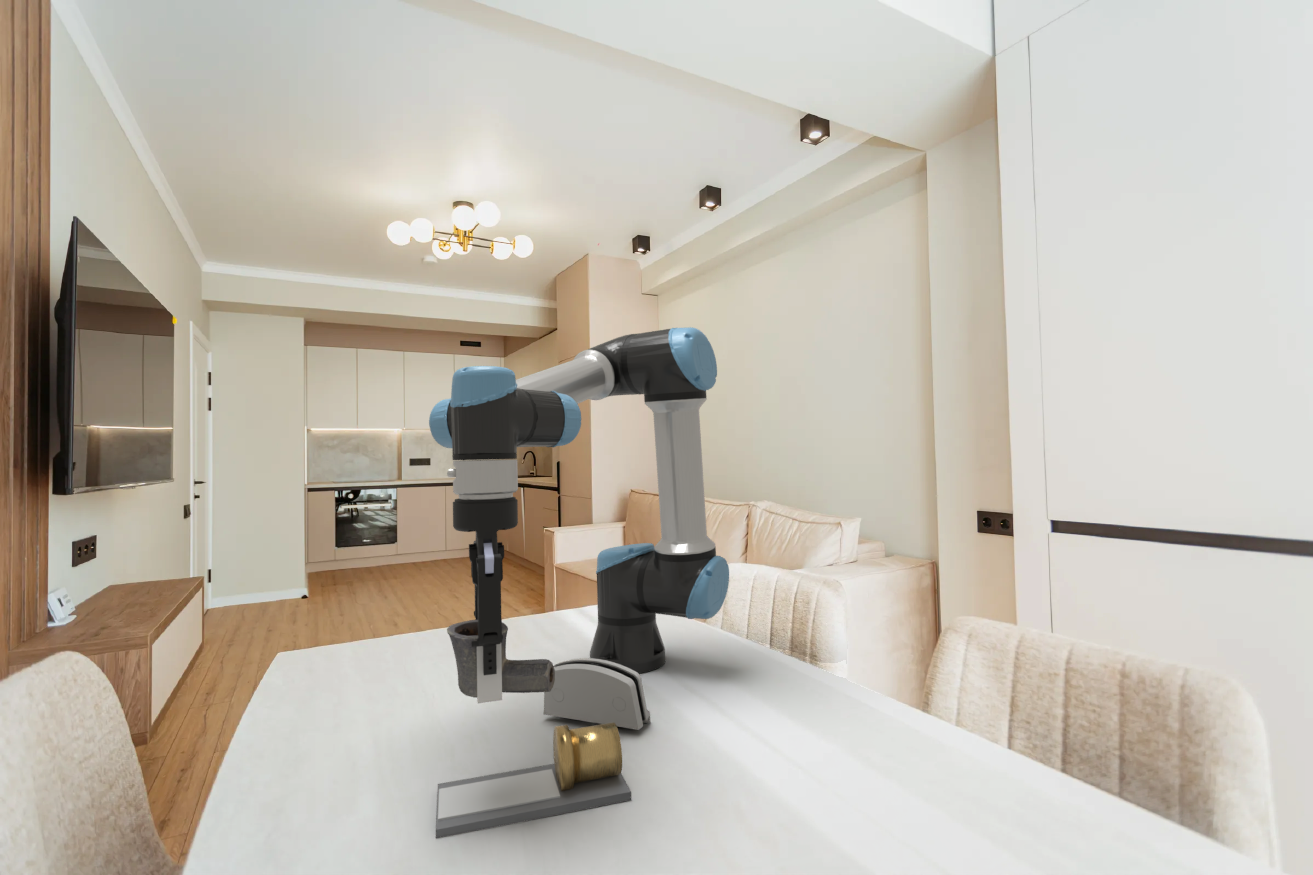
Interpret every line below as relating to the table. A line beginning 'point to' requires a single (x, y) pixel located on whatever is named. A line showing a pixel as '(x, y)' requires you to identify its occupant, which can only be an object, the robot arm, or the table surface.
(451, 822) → the base
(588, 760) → the cylinder
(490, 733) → the table surface
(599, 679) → the grey napkin holder
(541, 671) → the pipe
